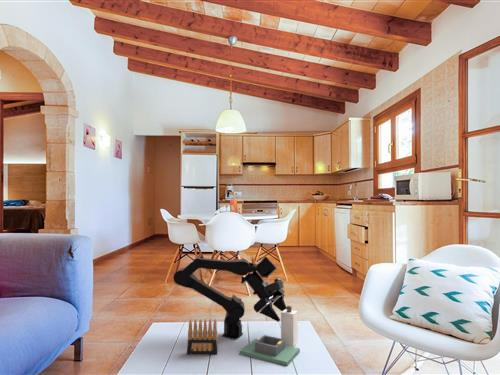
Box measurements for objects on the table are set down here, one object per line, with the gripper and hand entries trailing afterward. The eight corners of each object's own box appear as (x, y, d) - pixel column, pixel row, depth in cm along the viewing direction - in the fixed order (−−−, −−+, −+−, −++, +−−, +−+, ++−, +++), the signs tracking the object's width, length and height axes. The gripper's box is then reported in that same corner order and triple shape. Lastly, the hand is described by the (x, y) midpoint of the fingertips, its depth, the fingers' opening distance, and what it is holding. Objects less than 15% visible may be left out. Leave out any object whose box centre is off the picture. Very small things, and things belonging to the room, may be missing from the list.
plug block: (281, 344, 125) (281, 306, 126) (285, 340, 129) (285, 303, 130) (293, 347, 123) (293, 308, 124) (297, 342, 127) (297, 305, 127)
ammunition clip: (217, 352, 118) (217, 318, 119) (217, 354, 116) (217, 320, 117) (187, 352, 118) (188, 318, 119) (186, 354, 116) (187, 319, 117)
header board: (239, 354, 117) (240, 341, 117) (255, 341, 127) (255, 330, 127) (287, 365, 108) (287, 352, 108) (299, 351, 119) (299, 339, 119)
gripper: (261, 276, 123) (288, 311, 117) (280, 268, 139) (305, 298, 134) (242, 295, 126) (268, 330, 120) (263, 285, 143) (287, 315, 137)
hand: (283, 317), depth 128 cm, fingers open, 9 cm apart
